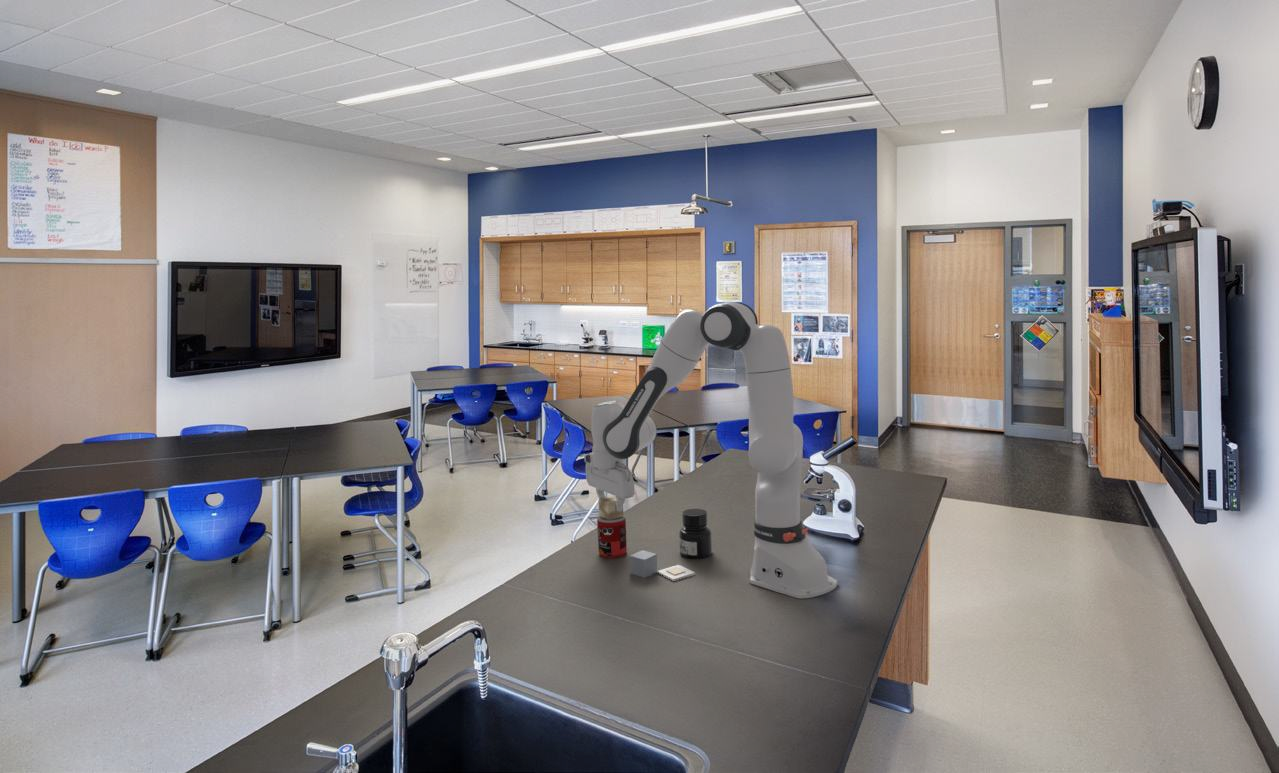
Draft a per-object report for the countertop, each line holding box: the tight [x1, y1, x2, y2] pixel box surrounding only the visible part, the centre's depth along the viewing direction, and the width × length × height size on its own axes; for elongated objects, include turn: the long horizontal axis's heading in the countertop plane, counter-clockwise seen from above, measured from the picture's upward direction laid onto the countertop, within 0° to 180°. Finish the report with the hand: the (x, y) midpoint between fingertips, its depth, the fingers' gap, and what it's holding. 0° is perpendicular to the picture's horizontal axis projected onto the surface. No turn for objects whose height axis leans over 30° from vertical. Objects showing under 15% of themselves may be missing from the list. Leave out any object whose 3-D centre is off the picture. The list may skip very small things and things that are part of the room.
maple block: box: [597, 495, 625, 520], centre depth 200 cm, size 5×5×5 cm
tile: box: [656, 564, 696, 582], centre depth 186 cm, size 7×7×1 cm
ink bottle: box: [678, 508, 713, 560], centre depth 199 cm, size 10×9×12 cm
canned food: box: [596, 514, 628, 559], centre depth 201 cm, size 8×8×11 cm
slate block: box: [629, 549, 658, 579], centre depth 187 cm, size 5×5×5 cm
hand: (610, 507), depth 200 cm, fingers open, 7 cm apart
